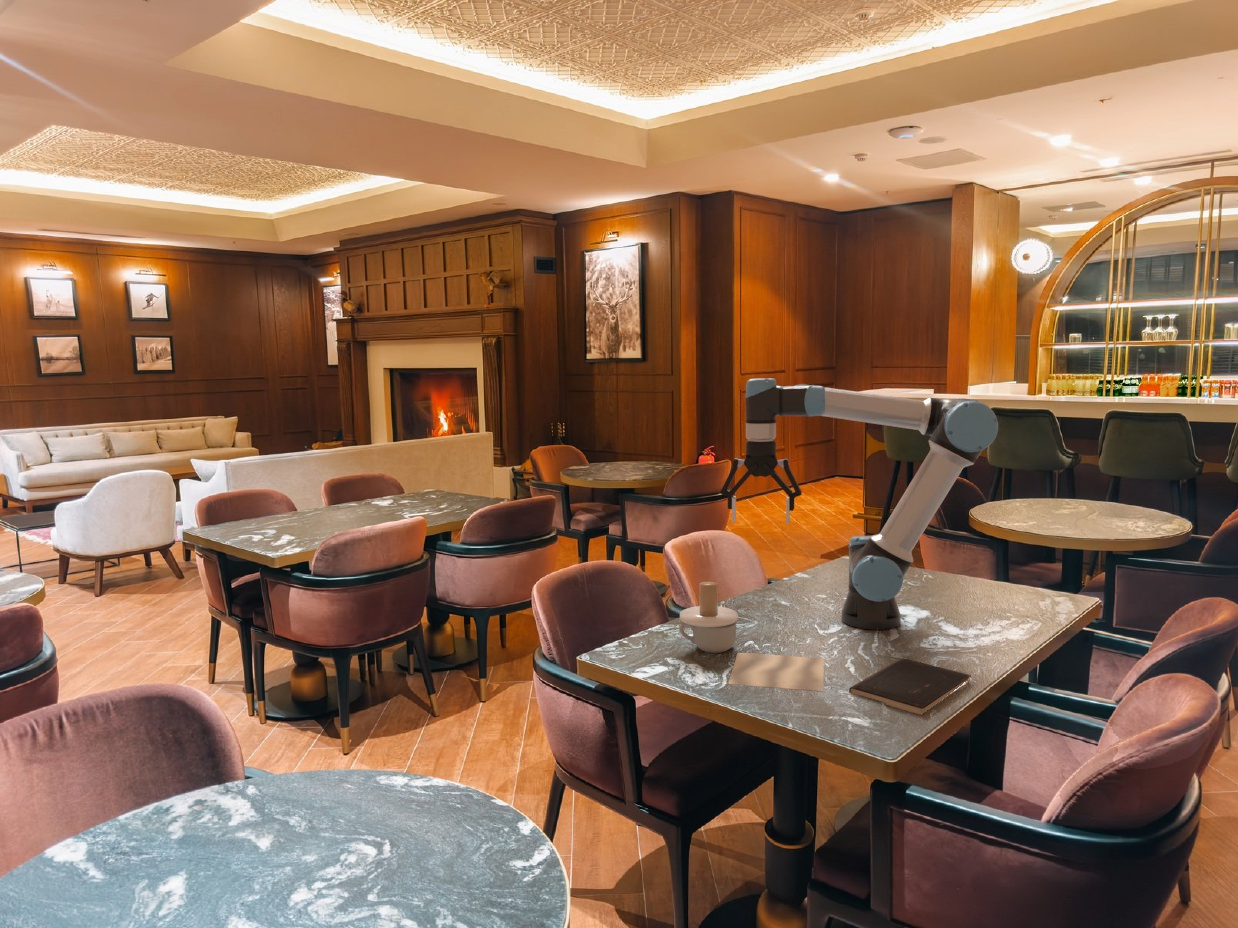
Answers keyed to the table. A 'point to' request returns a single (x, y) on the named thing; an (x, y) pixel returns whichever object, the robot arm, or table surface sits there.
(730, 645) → the teacup
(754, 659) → the mat
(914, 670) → the hardcover book
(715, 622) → the lid
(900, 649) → the table surface
